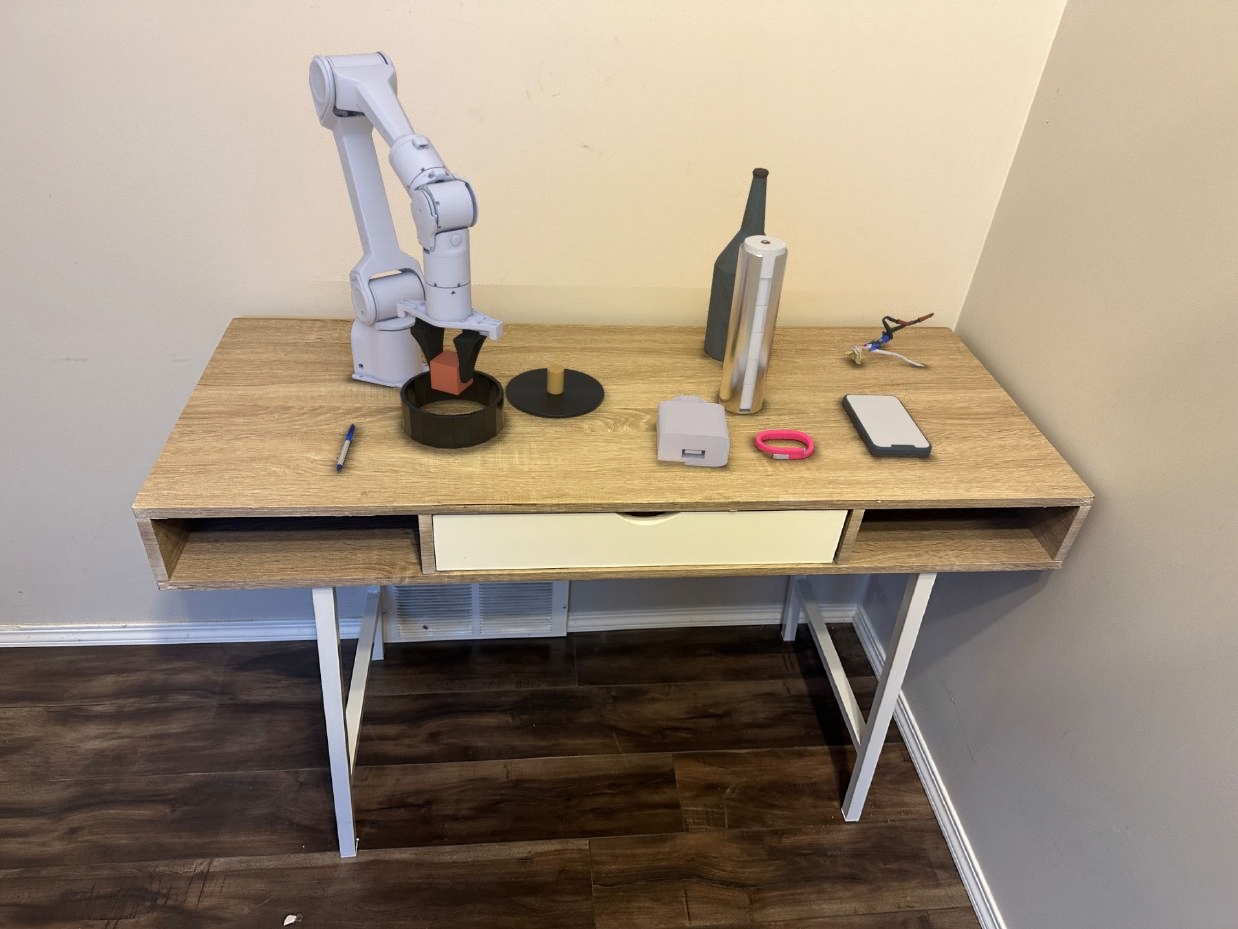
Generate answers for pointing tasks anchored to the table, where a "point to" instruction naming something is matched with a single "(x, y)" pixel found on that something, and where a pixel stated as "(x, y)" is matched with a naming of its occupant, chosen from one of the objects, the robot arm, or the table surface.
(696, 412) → the charger
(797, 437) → the fitness band
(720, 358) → the bottle
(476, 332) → the robot arm
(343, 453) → the ballpoint pen
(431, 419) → the tin
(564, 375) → the tin lid
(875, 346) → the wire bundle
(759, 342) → the silver metal cylinder
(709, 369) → the table surface
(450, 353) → the block
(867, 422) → the smartphone
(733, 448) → the table surface
